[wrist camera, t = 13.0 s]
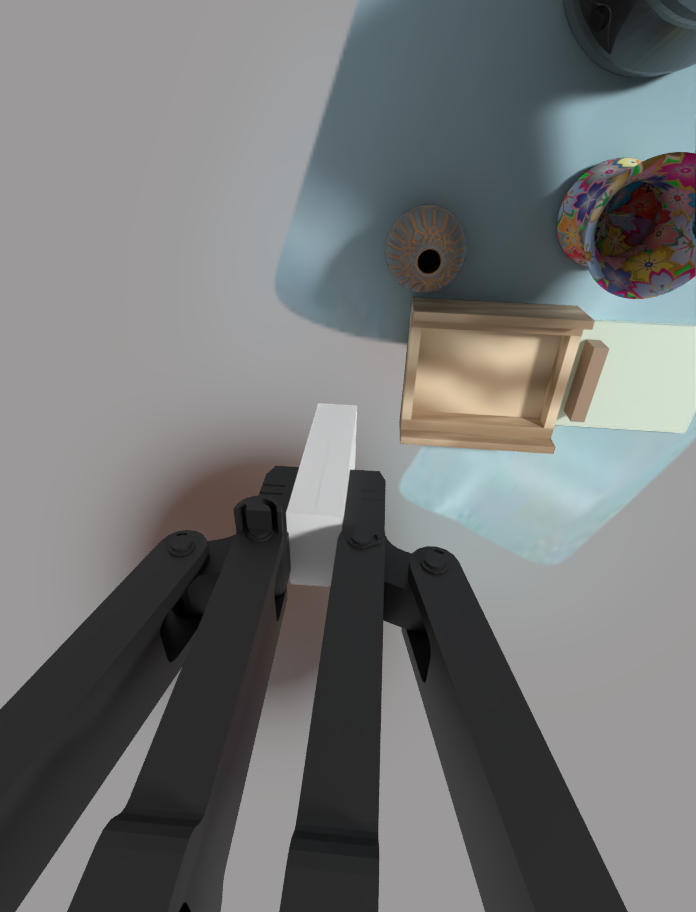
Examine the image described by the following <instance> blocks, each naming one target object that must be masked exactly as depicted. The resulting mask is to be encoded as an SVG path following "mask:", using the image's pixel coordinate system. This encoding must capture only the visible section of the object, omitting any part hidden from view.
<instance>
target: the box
mask: <svg viewBox="0 0 696 912" xmlns="http://www.w3.org/2000/svg"><path fill="white" fill-rule="evenodd" d="M594 323H595V321H594V320H593V319H592V318H591V317H590V316H589V315H587V314H586V313H585V312H584V311H583V310H582V309H580V308H579V307H578V306H567V305H548V304H528V303H508V302H488V301H469V300H449V299H429V298H412V304H411V314H410V324H409V334H408V344H407V354H406V364H405V374H404V384H403V394H402V405H401V413H400V444H411V445H427V446H442V447H457V448H473V449H488V450H503V451H518V452H534V453H549V454H554V450H555V446H554V444H553V442H552V440H551V436H552V432H553V429H554V426H555V422H556V419H557V416H558V413H559V409H560V406H561V403H562V399H563V396H564V393H565V389H566V386H567V383H568V380H569V376H570V373H571V370H572V366H573V363H574V360H575V356H576V353H577V350H578V347H579V343H580V340H581V337H582V333H583V330H592V329H593V326H594Z"/></svg>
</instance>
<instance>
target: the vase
mask: <svg viewBox="0 0 696 912" xmlns="http://www.w3.org/2000/svg"><path fill="white" fill-rule="evenodd" d="M385 254H386V261H387V265H388V268H389V270H390V272H391V274H392V276H393V277H394V278H395V280H396V281H397V282H398V283H399V284H401V285H402V286H403V287H405V288H407V289H409V290H411V291H415V292H421V293H426V292H433V291H436V290H439V289H441V288H443V287H445V286H446V285H447V284H449V283H450V282H451V281H452V280H453V279H454V278H455V277H456V276H457V274H458V273H459V271H460V269H461V267H462V265H463V263H464V260H465V256H466V237H465V233H464V230H463V228H462V226H461V224H460V222H459V221H458V219H457V218H456V217H455V216H454V215H453V214H452V213H450V212H449V211H448V210H446V209H444V208H442V207H439V206H435V205H421V206H417V207H414V208H412V209H410V210H408V211H406V212H405V213H404V214H402V215H401V216H400V217H399V218H398V219H397V221H396V222H395V223H394V225H393V226H392V228H391V230H390V232H389V234H388V237H387V241H386V248H385Z"/></svg>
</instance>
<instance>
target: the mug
mask: <svg viewBox="0 0 696 912" xmlns="http://www.w3.org/2000/svg"><path fill="white" fill-rule="evenodd" d="M695 168H696V154H694V153H688V152H674V153H667V154H662V155H658V156H655V157H652V158H650V159H647V160H645V161H643V162H642V161H640V160H637V159H633V158H616V159H611V160H607V161H605V162H602V163H600V164H598V165H596V166H594V167H593V168H591V169H589V170H588V171H587V172H585V173H584V174H583V175H582V176H581V177H580V178H579V179H578V180H577V181H576V182H575V183H574V184H573V185H572V187H571V188H570V189H569V191H568V192H567V194H566V196H565V198H564V200H563V202H562V204H561V207H560V210H559V214H558V220H557V234H558V239H559V242H560V245H561V247H562V249H563V250H564V252H565V253H566V254H567V256H568V257H569V258H571V259H572V260H573V261H575V262H576V263H578V264H581V265H583V266H587V267H588V269H589V271H590V273H591V275H592V277H593V278H594V280H595V281H596V282H597V283H598V284H599V285H600V286H601V287H602V288H603V289H605V290H606V291H608V292H610V293H612V294H614V295H616V296H619V297H623V298H629V299H645V298H651V297H656V296H659V295H662V294H665V293H668V292H670V291H672V290H674V289H676V288H678V287H680V286H682V285H684V284H685V283H686V282H688V281H689V280H691V279H692V278H693V277H695V276H696V271H695V246H694V244H693V242H692V236H691V235H690V222H691V218H692V215H693V213H694V212H695Z"/></svg>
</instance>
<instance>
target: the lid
mask: <svg viewBox="0 0 696 912" xmlns="http://www.w3.org/2000/svg"><path fill="white" fill-rule="evenodd" d="M593 320H594V321H595V323H594V326H593V329H592V330H583V333H582V337H581V340H580V343H579V347H578V350H577V353H576V356H575V360H574V363H573V366H572V370H571V373H570V376H569V380H568V383H567V386H566V389H565V393H564V396H563V399H562V403H561V406H560V409H559V413H558V416H557V419H556V422H555V425H564V426H579V427H595V428H611V429H626V430H642V431H658V432H673V433H685V432H686V430H687V428H688V426H689V424H690V422H691V420H692V418H693V415H694V413H695V411H696V325H690V324H671V323H652V322H633V321H615V320H596V319H593Z"/></svg>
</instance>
